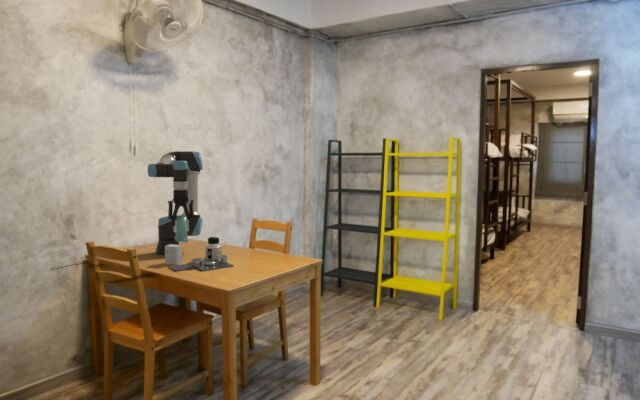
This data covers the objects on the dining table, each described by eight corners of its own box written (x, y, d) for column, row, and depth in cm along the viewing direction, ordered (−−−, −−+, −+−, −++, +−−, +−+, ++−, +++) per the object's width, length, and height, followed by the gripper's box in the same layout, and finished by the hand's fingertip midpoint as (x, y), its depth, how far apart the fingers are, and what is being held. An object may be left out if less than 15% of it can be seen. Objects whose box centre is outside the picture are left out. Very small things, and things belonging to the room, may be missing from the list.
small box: (182, 263, 262) (182, 245, 261) (176, 265, 256) (176, 246, 255) (171, 261, 264) (170, 244, 263) (164, 263, 259) (164, 245, 258)
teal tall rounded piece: (180, 242, 242) (180, 217, 240) (171, 239, 251) (171, 214, 250) (191, 241, 245) (191, 216, 244) (182, 238, 255) (181, 214, 254)
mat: (167, 267, 250) (167, 266, 250) (186, 264, 258) (186, 263, 258) (176, 271, 242) (176, 270, 242) (195, 268, 249) (195, 267, 249)
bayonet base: (186, 264, 257) (186, 256, 257) (217, 260, 270) (217, 252, 270) (201, 271, 243) (201, 262, 243) (233, 266, 256) (233, 258, 255)
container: (217, 260, 270) (216, 238, 269) (204, 259, 271) (204, 238, 270) (222, 257, 277) (222, 236, 276) (210, 256, 279) (210, 235, 278)
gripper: (166, 190, 237) (166, 234, 239) (200, 189, 249) (200, 230, 251) (160, 189, 242) (161, 232, 245) (194, 188, 255) (194, 229, 257)
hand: (181, 231), depth 248 cm, fingers closed on teal tall rounded piece, 6 cm apart
